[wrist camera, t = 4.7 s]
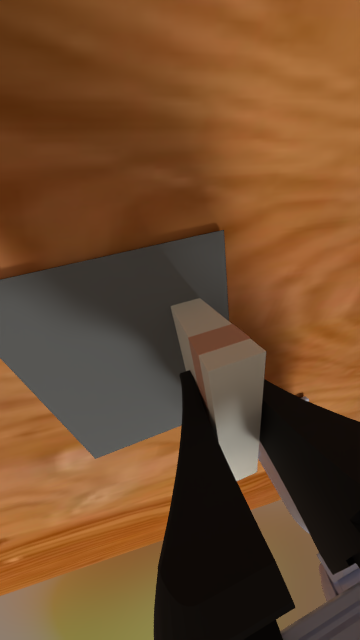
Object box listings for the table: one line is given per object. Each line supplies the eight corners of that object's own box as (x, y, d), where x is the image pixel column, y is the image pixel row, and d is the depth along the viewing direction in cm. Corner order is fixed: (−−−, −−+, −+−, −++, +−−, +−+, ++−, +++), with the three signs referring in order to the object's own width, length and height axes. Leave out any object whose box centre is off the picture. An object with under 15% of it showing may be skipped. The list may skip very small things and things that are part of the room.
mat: (231, 401, 17) (233, 404, 16) (96, 453, 15) (95, 458, 14) (220, 230, 9) (223, 229, 9) (-52, 291, 7) (-62, 293, 7)
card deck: (213, 389, 14) (257, 472, 9) (192, 397, 14) (225, 486, 9) (199, 297, 10) (266, 350, 5) (170, 305, 10) (207, 371, 5)
